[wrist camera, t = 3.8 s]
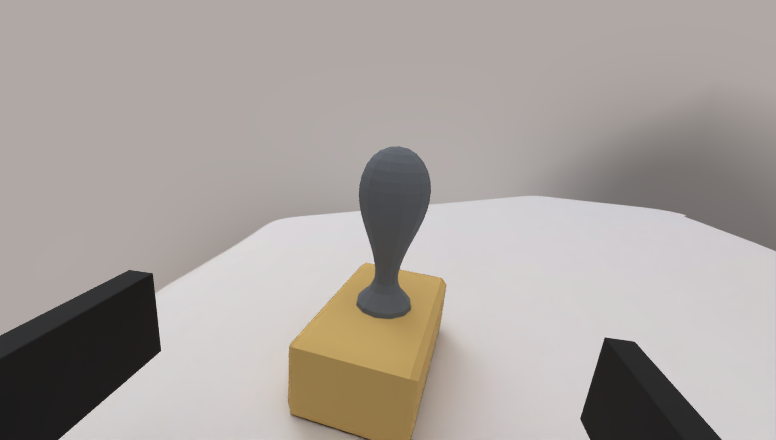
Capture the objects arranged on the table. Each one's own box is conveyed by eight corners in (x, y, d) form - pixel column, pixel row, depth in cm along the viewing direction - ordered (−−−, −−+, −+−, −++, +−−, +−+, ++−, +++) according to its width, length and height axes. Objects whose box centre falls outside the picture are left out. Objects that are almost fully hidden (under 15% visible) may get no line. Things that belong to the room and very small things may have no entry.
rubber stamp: (408, 453, 15) (447, 167, 12) (284, 413, 16) (286, 146, 13) (440, 326, 24) (467, 146, 21) (359, 307, 26) (372, 135, 22)
